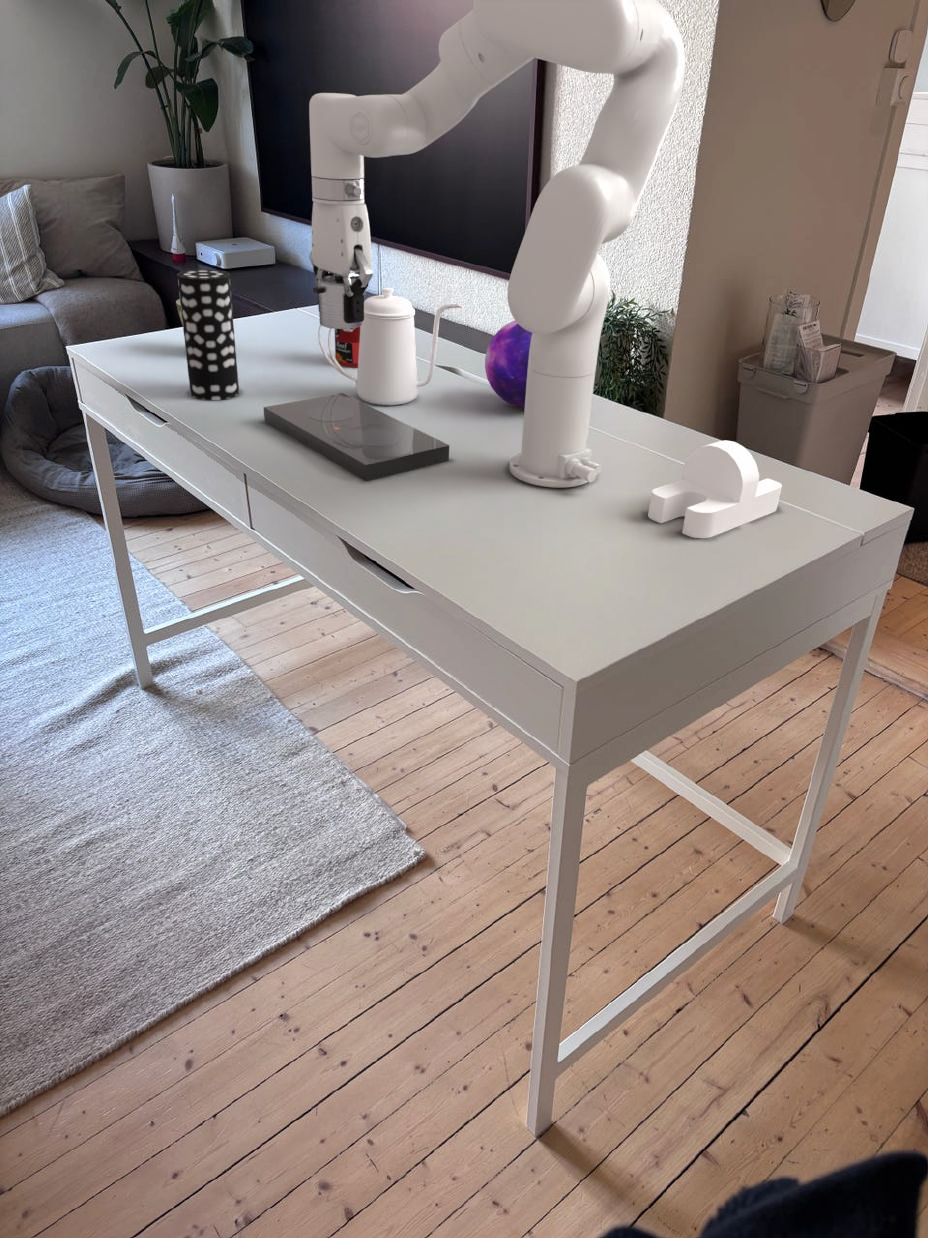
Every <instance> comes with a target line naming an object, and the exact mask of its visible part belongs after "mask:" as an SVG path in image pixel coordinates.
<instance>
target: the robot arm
mask: <svg viewBox="0 0 928 1238" xmlns="http://www.w3.org/2000/svg"><path fill="white" fill-rule="evenodd" d="M685 52H686V51H685V46H684V42H683V39H682V35H681V32H680V29H679V28H678V26H677V24H676V22H675V20H674V19H673V17H672V16H671V14H670V13H669V12H668V10H667V9H666V7H664V5H662V3H660V2H659V1H658V0H473V1H472V10H470V11H469V12H467V14H466V15H464V16H463V17H462V18H460V19H459V20H458V21H457V22H455V23H454V24H453V25H451V26H450V27H448V28H447V29H446V30H445V31H444V32H443V33H442V34H441V36H440V39H439V42H438V56H439V60H440V61H439V63H438V65H437V66H436V67H435V68H434V69H433V70H432V71H431V72H430V73H429V74H428V75H426V77H424V78H423V79H422V80H420V81H419V82H418V83H417V84H416V85H414V86H413V87H411V88H410V89H409V90H407V91H405V92H403V93H402V94H396V93H394V94H390V93H389V94H386V93H385V94H384V93H383V94H366V95H358V96H357V95H355V94H350V93H339V92H338V93H337V92H319V93H315V94H314V95H312V96H311V98H310V100H309V105H308V106H309V107H308V109H309V110H308V112H309V113H308V115H309V117H308V118H309V141H310V143H309V144H310V168H311V194H312V195H311V196H312V197H311V198H312V199H311V200H312V202H313V203H312V212H311V251H310V253H309V255H308V258H309V260H310V263H311V265H312V271H313V273H314V275H315V284H316V287H318V280H319V279H320V278H322V277H325V276H335V275H339V276H342V277H343V281H344V285H345V289H346V293H347V296H344V318H345V323H348V324H349V323H357V322H363V321H364V301H365V296H366V294H367V289H368V287H369V283H370V282H371V279H372V278H373V275H374V273H373V270H372V266H373V261H372V260H373V259H372V257H373V256H372V241H371V227H370V220H369V212H368V207H367V204H366V203H365V157H366V158H373V159H374V158H377V159H378V158H386V157H392V156H405V155H412V154H414V153H417V152H419V151H421V150H423V149H425V148H427V147H428V146H429V145H431V144H432V143H433V142H435V141H436V140H438V139H440V138H441V137H442V136H443V135H445V134H446V133H448V132H449V131H450V130H452V129H454V128H455V127H456V126H457V125H458V124H459V123H461V122H462V120H463V119H465V117H466V116H467V115H468V114H469V113H470V112H471V110H472V109H473V108H474V107H475V106H476V104H477V103H478V101H479V100H480V98H482V97H483V96H484V95H485V94H486V93H488V92H490V91H491V90H492V89H494V88H495V87H497V86H498V85H499V84H500V83H502V82H503V81H504V80H506V79H507V78H508V77H510V76H511V75H513V74H514V73H515V72H517V71H518V70H520V69H521V68H522V67H524V66H525V65H526V64H528V63H530V62H531V61H532V60H534V59H538V60H542V61H545V62H549V63H553V64H556V65H560V66H563V67H566V68H570V69H573V70H577V71H581V72H585V73H590V74H604V75H605V74H606V75H612V76H613V85H612V88H611V91H610V93H609V95H608V96H607V99H606V100H605V102H604V104H603V106H602V107H601V110H600V112H599V114H598V116H597V118H596V120H595V123H594V125H593V129H592V133H591V136H590V138H589V141H588V143H587V146H586V148H585V151H584V153H583V155H582V157H581V159H580V161H579V162H578V163H579V164H576V165H572V166H569V167H565V168H563V169H562V170H560V171H559V172H557V173H555V174H554V175H553V176H552V177H551V178H550V179H549V180H548V181H547V183H546V184H545V185H544V187H543V189H542V190H541V192H540V193H539V195H538V197H537V199H536V202H535V204H534V207H533V209H532V212H531V215H530V217H529V221H528V224H527V226H526V228H525V233H524V235H523V238H522V241H521V244H520V247H519V249H518V252H517V254H516V257H515V261H514V262H513V263H514V264H513V266H512V269H511V273H510V276H509V280H508V285H507V295H506V296H507V303H508V308H509V311H510V313H511V316H512V318H513V320H514V321H516V322H517V323H518V324H519V325H520V326H521V327H522V328H524V329H525V330H527V331H529V332H532V337H531V342H530V349H529V360H528V371H527V384H526V397H525V407H524V410H523V412H524V413H523V425H522V435H521V436H522V438H521V447H520V448H521V449H520V453H517V454H516V455H515V456H513V457H512V458H511V459H510V461H509V466H508V467H509V472H510V473H511V475H512V476H513V477H515V478H516V479H518V480H519V481H522V482H524V483H527V484H530V485H533V486H538V487H545V488H553V489H554V488H557V489H559V488H561V489H563V488H574V487H579V486H583V485H586V484H587V483H593V482H594V481H595V480H596V478H597V477H598V476H597V475H600V474H601V472H602V470H603V466H602V465H601V464H598V463H596V462H593V461H592V452H593V450H592V449H591V448H589V447H588V440H589V431H590V422H591V414H592V405H593V398H594V397H593V395H594V387H595V378H596V371H597V363H598V356H599V350H600V349H599V348H600V342H601V336H602V330H603V326H604V322H605V317H606V314H607V313H606V312H607V310H608V304H609V300H610V293H611V278H610V273H609V269H608V266H607V264H606V263H605V261H604V259H603V258H602V257H601V256H600V254H599V251H600V248H601V246H602V245H605V244H607V243H609V242H612V241H614V240H616V239H618V238H619V237H620V236H621V235H623V234H624V233H625V232H626V230H627V229H628V228H629V227H630V224H631V223H632V221H633V218H634V216H635V214H636V211H637V208H638V205H639V203H640V200H641V199H642V198H641V197H642V195H643V192H644V190H645V187H646V185H647V183H648V181H649V178H650V176H651V174H652V170H653V169H654V166H655V164H656V161H657V158H658V156H659V152H660V150H661V147H662V145H663V142H664V139H665V137H666V134H667V132H668V129H669V127H670V125H671V123H672V120H673V118H674V115H675V113H676V111H677V108H678V104H679V102H680V98H681V95H682V91H683V87H684V82H685V75H686V54H685ZM351 279H356V280H355V282H354V283H353V285H352V283H351ZM317 298H318V299H317V302H318V306H317V307H318V308H319V293H318V294H317Z"/></svg>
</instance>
